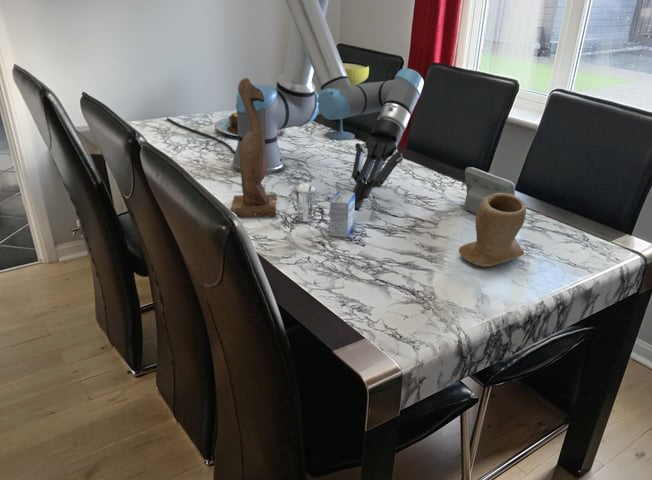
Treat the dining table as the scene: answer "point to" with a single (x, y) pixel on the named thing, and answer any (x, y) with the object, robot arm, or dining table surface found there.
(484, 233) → the stone cup
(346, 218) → the medicine box
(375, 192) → the dining table surface
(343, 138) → the cocktail glass
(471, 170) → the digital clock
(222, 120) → the food on plate
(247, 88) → the bird sculpture
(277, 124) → the robot arm
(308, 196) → the milkshake
